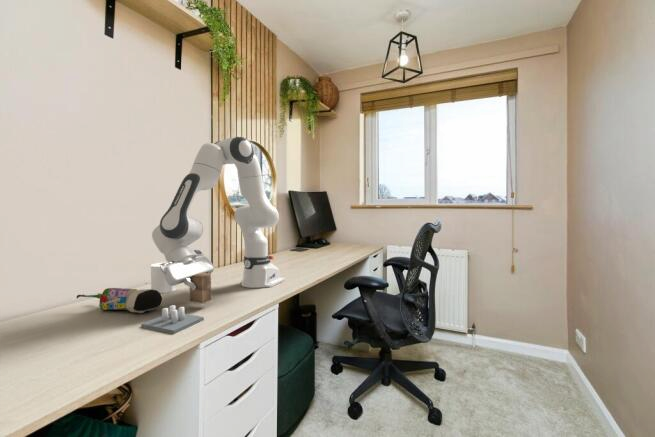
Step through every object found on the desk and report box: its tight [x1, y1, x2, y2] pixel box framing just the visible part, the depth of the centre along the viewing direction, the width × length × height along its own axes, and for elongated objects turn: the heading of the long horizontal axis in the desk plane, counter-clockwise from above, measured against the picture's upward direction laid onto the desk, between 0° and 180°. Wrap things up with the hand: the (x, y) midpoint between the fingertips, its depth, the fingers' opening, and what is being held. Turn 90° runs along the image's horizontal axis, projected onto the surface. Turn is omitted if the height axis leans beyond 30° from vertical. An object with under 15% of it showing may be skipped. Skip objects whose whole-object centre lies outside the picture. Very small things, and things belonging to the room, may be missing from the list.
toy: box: [76, 287, 163, 314], centre depth 112 cm, size 23×9×30 cm
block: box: [189, 273, 212, 304], centre depth 114 cm, size 4×6×10 cm
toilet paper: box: [150, 261, 177, 294], centre depth 136 cm, size 10×10×12 cm
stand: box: [140, 304, 205, 335], centre depth 99 cm, size 12×14×5 cm
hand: (201, 286), depth 114 cm, fingers closed on block, 4 cm apart
